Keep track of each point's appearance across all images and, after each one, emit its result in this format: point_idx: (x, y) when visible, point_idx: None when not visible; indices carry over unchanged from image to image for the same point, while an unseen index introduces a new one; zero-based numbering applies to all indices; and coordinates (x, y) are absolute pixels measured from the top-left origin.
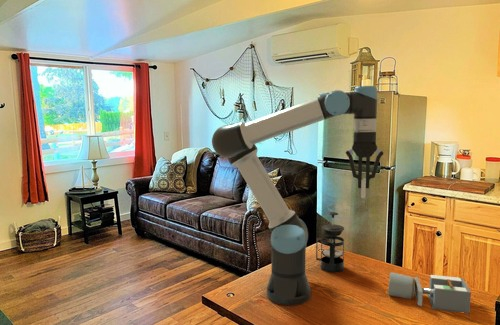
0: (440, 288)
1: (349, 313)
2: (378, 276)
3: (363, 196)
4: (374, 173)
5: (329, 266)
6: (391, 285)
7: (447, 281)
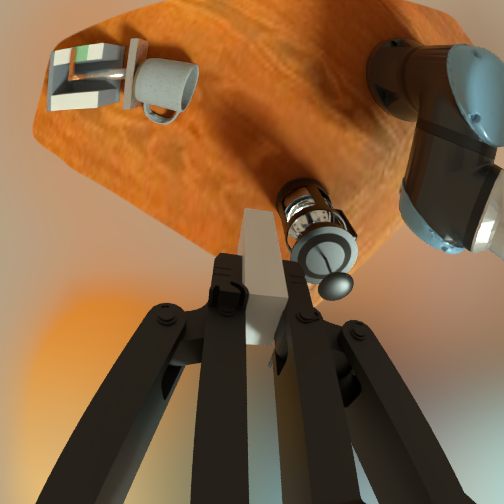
0: (94, 44)
1: (294, 5)
2: (204, 168)
3: (258, 214)
4: (143, 341)
5: (315, 184)
6: (189, 63)
7: (73, 75)
